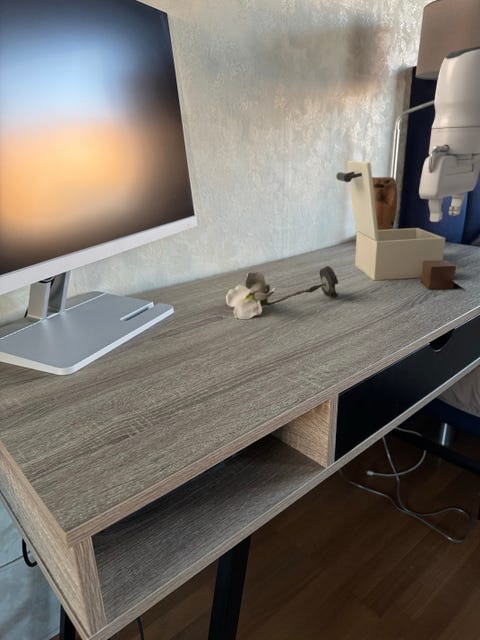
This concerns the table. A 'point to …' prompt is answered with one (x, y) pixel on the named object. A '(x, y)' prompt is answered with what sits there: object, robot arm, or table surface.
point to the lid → (362, 197)
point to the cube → (438, 274)
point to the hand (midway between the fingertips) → (444, 218)
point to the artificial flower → (257, 293)
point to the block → (385, 201)
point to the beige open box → (397, 253)
